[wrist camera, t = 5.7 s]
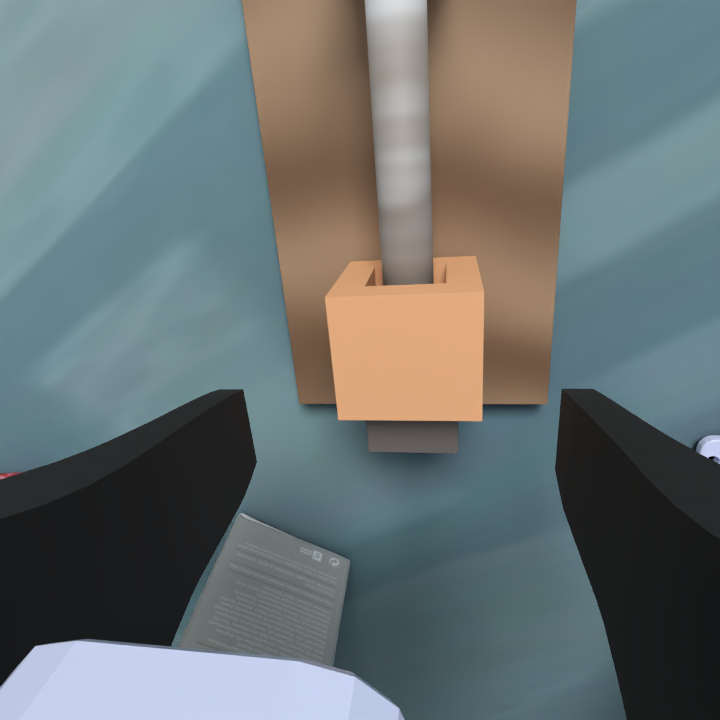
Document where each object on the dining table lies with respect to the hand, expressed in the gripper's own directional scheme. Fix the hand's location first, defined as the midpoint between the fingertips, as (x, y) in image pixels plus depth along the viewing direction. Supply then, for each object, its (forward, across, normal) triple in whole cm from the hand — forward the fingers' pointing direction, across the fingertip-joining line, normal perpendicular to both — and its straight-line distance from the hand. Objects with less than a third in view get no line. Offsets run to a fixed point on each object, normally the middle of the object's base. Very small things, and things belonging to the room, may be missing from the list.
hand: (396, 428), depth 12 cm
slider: (+8, 0, 0) cm, 8 cm away
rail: (+9, 0, -4) cm, 10 cm away
